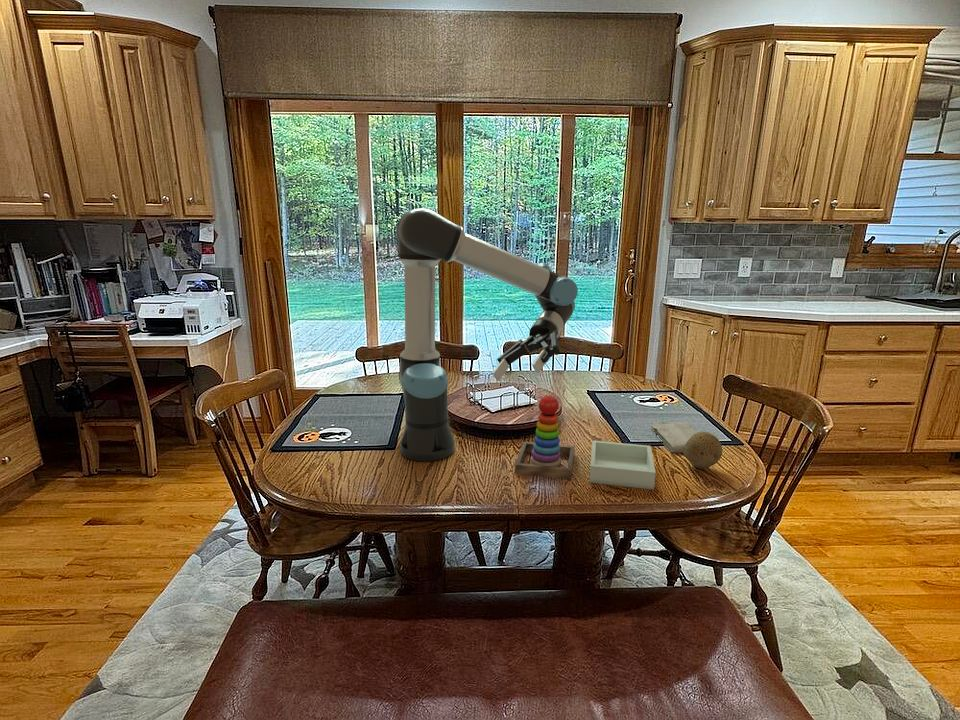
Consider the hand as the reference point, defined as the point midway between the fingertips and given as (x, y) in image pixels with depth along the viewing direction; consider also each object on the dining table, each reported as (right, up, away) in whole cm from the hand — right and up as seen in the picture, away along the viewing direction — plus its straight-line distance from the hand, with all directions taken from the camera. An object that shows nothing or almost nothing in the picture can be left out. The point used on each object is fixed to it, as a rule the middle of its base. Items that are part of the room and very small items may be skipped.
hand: (514, 373), depth 134 cm
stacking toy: (+8, -24, 0) cm, 25 cm away
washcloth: (+49, -20, +14) cm, 55 cm away
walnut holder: (+8, -24, 0) cm, 25 cm away
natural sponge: (+47, -25, -3) cm, 54 cm away
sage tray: (+27, -25, -4) cm, 37 cm away
